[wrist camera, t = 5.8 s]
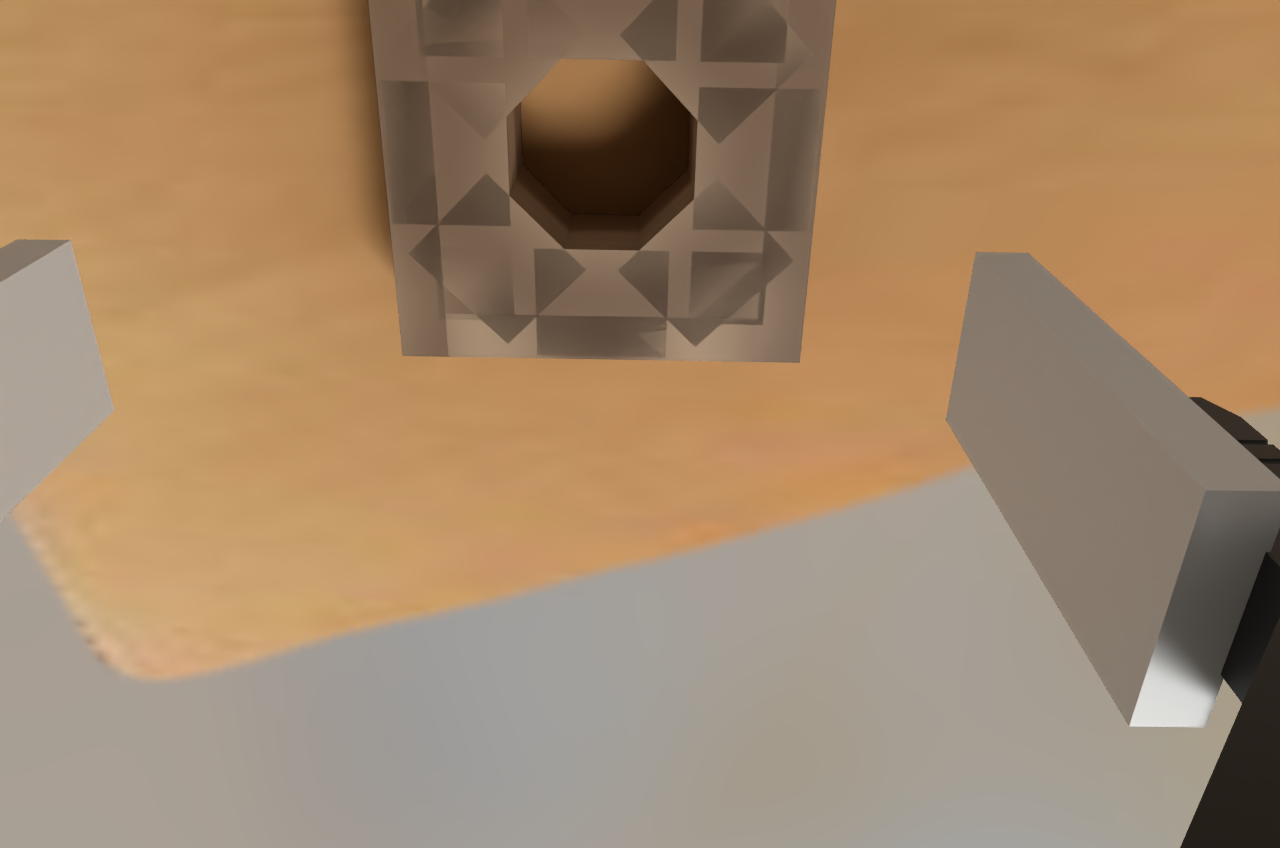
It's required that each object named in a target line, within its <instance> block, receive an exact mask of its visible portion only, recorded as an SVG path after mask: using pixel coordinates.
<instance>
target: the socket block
mask: <svg viewBox="0 0 1280 848" xmlns="http://www.w3.org/2000/svg"><path fill="white" fill-rule="evenodd" d="M368 4H369V15H370V25H371V35H372V46H373V56H374V66H375V76H376V87H377V97H378V107H379V118H380V128H381V138H382V149H383V159H384V169H385V180H386V190H387V200H388V211H389V221H390V231H391V241H392V252H393V262H394V272H395V283H396V293H397V303H398V314H399V324H400V334H401V345H402V355H403V356H439V357H497V358H556V359H615V360H673V361H732V362H791V363H800V353H801V343H802V333H803V323H804V314H805V304H806V294H807V284H808V274H809V264H810V254H811V245H812V235H813V225H814V215H815V205H816V195H817V185H818V175H819V166H820V156H821V146H822V136H823V126H824V116H825V106H826V96H827V87H828V77H829V67H830V57H831V47H832V37H833V27H834V17H835V8H836V0H368ZM561 59H600V60H643V61H644V62H645V63H646V64H647V65H648V67H649V68H650V69H651V70H652V71H653V72H654V73H655V74H656V75H657V76H658V78H659V79H660V80H661V81H662V82H663V83H664V84H665V85H666V86H667V87H668V89H669V90H670V91H671V92H672V93H673V94H674V95H675V96H676V97H677V98H678V100H679V101H680V102H681V103H682V104H683V105H684V106H685V107H686V108H687V109H688V111H689V112H690V137H689V161H688V169H687V170H686V171H685V172H684V173H683V174H682V175H681V176H680V177H679V178H678V179H677V180H676V181H675V182H674V183H673V184H672V185H671V186H669V187H668V188H667V189H666V190H665V191H664V192H663V193H662V194H661V195H660V196H659V197H658V198H657V199H656V200H655V201H654V202H653V203H652V204H650V205H649V206H648V207H647V208H646V209H645V210H644V211H643V212H642V213H641V214H640V215H588V214H571V213H570V212H569V211H568V210H567V209H566V208H565V207H564V206H563V205H562V204H561V203H560V202H559V201H558V200H557V199H556V198H555V197H554V196H553V195H552V194H551V193H550V192H549V191H548V190H547V189H546V188H545V187H544V186H543V185H542V184H541V183H540V182H539V181H538V180H537V179H536V178H535V177H534V176H533V175H532V174H531V173H530V172H529V171H528V170H527V169H526V168H525V167H524V166H523V157H522V127H521V101H522V100H523V99H524V98H525V97H526V95H527V94H528V93H529V92H530V91H531V90H532V89H533V88H534V87H535V86H536V85H537V84H538V83H539V82H540V81H541V80H542V79H543V78H544V77H545V75H546V74H547V73H548V72H549V71H550V70H551V69H552V68H553V67H554V66H555V65H556V64H557V63H558V62H559V61H560V60H561Z"/></svg>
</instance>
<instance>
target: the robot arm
mask: <svg viewBox="0 0 1280 848" xmlns="http://www.w3.org/2000/svg"><path fill="white" fill-rule="evenodd" d="M113 411H114V408H113V404H112V400H111V396H110V392H109V388H108V384H107V380H106V376H105V373H104V369H103V365H102V361H101V357H100V353H99V349H98V345H97V341H96V338H95V334H94V330H93V326H92V322H91V318H90V314H89V310H88V306H87V303H86V299H85V295H84V291H83V287H82V283H81V279H80V275H79V271H78V268H77V264H76V260H75V256H74V252H73V248H72V244H71V240H15V241H13V242H12V243H10V244H8V245H6V246H4V247H3V248H1V249H0V522H1V521H2V520H3V519H4V518H5V517H6V516H7V515H8V514H9V513H10V512H11V511H12V510H13V509H14V508H15V507H16V506H17V505H18V504H19V503H20V502H21V501H22V500H23V499H24V498H25V497H26V496H27V495H28V494H29V493H30V492H31V491H32V490H33V489H34V488H36V487H37V486H38V485H39V484H40V483H41V482H42V481H43V480H44V479H45V478H46V477H47V476H48V475H49V474H50V473H51V472H52V471H53V470H54V469H55V468H56V467H57V466H58V465H59V464H60V463H61V462H62V461H63V460H64V459H65V458H66V457H67V456H68V455H69V454H70V453H71V452H72V451H73V450H74V449H75V448H76V447H77V446H78V445H79V444H80V443H81V442H83V441H84V440H85V439H86V438H87V437H88V436H89V435H90V434H91V433H92V432H93V431H94V430H95V429H96V428H97V427H98V426H99V425H100V424H101V423H102V422H103V421H104V420H105V419H106V418H107V417H108V416H109V415H110V414H111V413H112V412H113ZM946 421H947V422H948V424H949V426H950V427H951V429H952V431H953V433H954V434H955V436H956V438H957V439H958V441H959V443H960V444H961V446H962V448H963V449H964V451H965V453H966V454H967V456H968V458H969V459H970V461H971V463H972V464H973V466H974V468H975V469H976V471H977V473H978V474H979V476H980V478H981V479H982V481H983V483H984V484H985V486H986V488H987V489H988V491H989V493H990V494H991V496H992V498H993V499H994V501H995V503H996V504H997V506H998V508H999V509H1000V511H1001V513H1002V514H1003V516H1004V518H1005V519H1006V521H1007V523H1008V525H1009V526H1010V528H1011V530H1012V531H1013V533H1014V534H1015V536H1016V538H1017V539H1018V541H1019V543H1020V545H1021V546H1022V548H1023V550H1024V551H1025V553H1026V555H1027V556H1028V558H1029V560H1030V561H1031V563H1032V565H1033V566H1034V568H1035V569H1036V571H1037V573H1038V575H1039V576H1040V578H1041V580H1042V581H1043V583H1044V585H1045V586H1046V588H1047V590H1048V592H1049V593H1050V595H1051V597H1052V598H1053V600H1054V601H1055V603H1056V605H1057V606H1058V608H1059V610H1060V611H1061V613H1062V615H1063V617H1064V618H1065V620H1066V622H1067V623H1068V625H1069V626H1070V628H1071V630H1072V632H1073V633H1074V635H1075V637H1076V638H1077V640H1078V642H1079V643H1080V645H1081V647H1082V648H1083V650H1084V652H1085V653H1086V655H1087V657H1088V658H1089V660H1090V662H1091V663H1092V665H1093V667H1094V668H1095V670H1096V672H1097V673H1098V675H1099V677H1100V678H1101V680H1102V682H1103V684H1104V685H1105V687H1106V689H1107V690H1108V692H1109V694H1110V695H1111V697H1112V699H1113V700H1114V702H1115V704H1116V705H1117V707H1118V709H1119V710H1120V712H1121V714H1122V715H1123V717H1124V719H1125V720H1126V722H1127V724H1128V725H1129V726H1138V727H1142V726H1143V727H1205V726H1206V724H1207V721H1208V718H1209V716H1210V713H1211V711H1212V708H1213V705H1214V703H1215V700H1216V697H1217V695H1218V692H1219V689H1220V686H1221V684H1222V681H1223V678H1224V680H1225V681H1226V682H1227V684H1228V685H1229V686H1230V687H1231V689H1232V690H1233V691H1234V693H1235V694H1236V696H1237V697H1238V698H1239V699H1240V701H1241V702H1242V705H1241V708H1240V710H1239V712H1238V715H1237V717H1236V719H1235V722H1234V724H1233V727H1232V729H1231V731H1230V734H1229V736H1228V738H1227V741H1226V743H1225V745H1224V748H1223V750H1222V752H1221V754H1220V757H1219V759H1218V761H1217V764H1216V766H1215V769H1214V771H1213V773H1212V775H1211V778H1210V780H1209V782H1208V784H1207V787H1206V789H1205V791H1204V794H1203V796H1202V798H1201V801H1200V803H1199V805H1198V808H1197V810H1196V812H1195V815H1194V817H1193V819H1192V822H1191V824H1190V826H1189V829H1188V831H1187V833H1186V836H1185V838H1184V840H1183V842H1182V845H1181V847H1180V848H1280V450H1279V449H1278V448H1276V447H1275V446H1274V445H1268V443H1267V442H1268V441H1267V439H1266V438H1265V437H1264V436H1262V435H1261V434H1260V433H1259V432H1258V431H1256V430H1255V429H1254V428H1253V427H1252V426H1250V425H1249V424H1248V423H1247V422H1246V421H1245V420H1244V419H1242V418H1241V417H1239V416H1237V415H1235V414H1233V413H1231V412H1229V411H1227V410H1225V409H1223V408H1221V407H1219V406H1217V405H1215V404H1213V403H1211V402H1209V401H1207V400H1205V399H1203V398H1201V397H1188V396H1187V395H1186V394H1184V393H1183V392H1182V391H1181V390H1180V389H1179V388H1178V387H1177V386H1176V385H1174V384H1173V383H1172V382H1171V381H1170V380H1169V379H1168V378H1167V377H1166V376H1164V375H1163V374H1162V373H1161V372H1160V371H1159V370H1158V369H1157V368H1156V367H1154V366H1153V365H1152V364H1151V363H1150V362H1149V361H1148V360H1147V359H1146V358H1144V357H1143V356H1142V355H1141V354H1140V353H1139V352H1138V351H1137V350H1136V349H1134V348H1133V347H1132V346H1131V345H1130V344H1129V343H1128V342H1127V341H1126V340H1124V339H1123V338H1122V337H1121V336H1120V335H1119V334H1118V333H1117V332H1115V331H1114V330H1113V329H1112V328H1111V327H1110V326H1109V325H1108V324H1107V323H1105V322H1104V321H1103V320H1102V319H1101V318H1100V317H1099V316H1098V315H1097V314H1095V313H1094V312H1093V311H1092V310H1091V309H1090V308H1089V307H1088V306H1087V305H1085V304H1084V303H1083V302H1082V301H1081V300H1080V299H1079V298H1078V297H1077V296H1075V295H1074V294H1073V293H1072V292H1071V291H1070V290H1069V289H1068V288H1067V287H1065V286H1064V285H1063V284H1062V283H1061V282H1060V281H1059V280H1058V279H1057V278H1055V277H1054V276H1053V275H1052V274H1051V273H1050V272H1049V271H1048V270H1046V269H1045V268H1044V267H1043V266H1042V265H1041V264H1040V263H1039V262H1038V261H1036V260H1035V259H1034V258H1033V257H1032V256H1031V255H1030V254H1029V253H996V252H976V254H975V259H974V265H973V271H972V276H971V282H970V287H969V293H968V299H967V304H966V310H965V316H964V321H963V327H962V333H961V338H960V344H959V350H958V355H957V361H956V366H955V372H954V378H953V383H952V389H951V395H950V400H949V406H948V412H947V417H946Z"/></svg>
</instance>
